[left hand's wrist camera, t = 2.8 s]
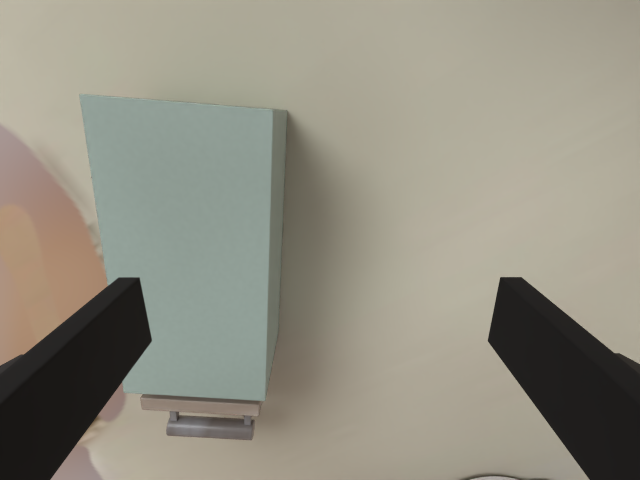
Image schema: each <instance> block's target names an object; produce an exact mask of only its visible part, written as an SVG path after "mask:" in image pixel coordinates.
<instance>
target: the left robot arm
mask: <svg viewBox="0 0 640 480" xmlns="http://www.w3.org/2000/svg"><path fill="white" fill-rule="evenodd" d="M151 342H152V338H151V332H150V327H149V322H148V317H147V312H146V307H145V302H144V297H143V292H142V287H141V282H140V277H118V278H117V279H116V280H115V281H114V282H112V283H111V284H110V285H109V286H107V287H106V288H105V289H104V290H103V291H101V292H100V293H99V294H98V295H96V296H95V297H94V298H93V299H92V300H90V301H89V302H88V303H87V304H85V305H84V306H83V307H82V308H80V309H79V310H78V311H77V312H76V313H74V314H73V315H72V316H71V317H69V318H68V319H67V320H66V321H65V322H63V323H62V324H61V325H60V326H58V327H57V328H56V329H55V330H54V331H52V332H51V333H50V334H49V335H47V336H46V337H45V338H44V339H43V340H41V341H40V342H39V343H38V344H36V345H35V346H34V347H33V348H32V349H30V350H29V351H28V352H27V353H25V354H24V355H19V356H17V357H16V358H14V359H12V360H10V361H8V362H6V363H5V364H3V365H1V366H0V480H50V479H51V478H52V476H53V475H54V474H55V472H56V471H57V470H58V468H59V467H60V466H61V464H62V463H63V462H64V460H65V459H66V457H67V456H68V455H69V453H70V452H71V451H72V449H73V448H74V447H75V445H76V444H77V443H78V441H79V440H80V438H81V437H82V436H83V434H84V433H85V432H86V430H87V429H88V428H89V426H90V425H91V423H92V422H93V421H94V419H95V418H96V417H97V415H98V414H99V413H100V411H101V410H102V409H103V407H104V406H105V404H106V403H107V402H108V400H109V399H110V398H111V396H112V395H113V394H114V392H115V391H116V389H117V388H118V387H119V385H120V384H121V383H122V381H123V380H124V379H125V377H126V376H127V375H128V373H129V372H130V370H131V369H132V368H133V366H134V365H135V364H136V362H137V361H138V360H139V358H140V357H141V355H142V354H143V353H144V351H145V350H146V349H147V347H148V346H149V345H150V343H151ZM488 342H489V343H490V345H491V346H492V347H493V349H494V350H495V351H496V353H497V354H498V355H499V357H500V358H501V360H502V361H503V362H504V364H505V365H506V366H507V368H508V369H509V370H510V372H511V373H512V375H513V376H514V377H515V379H516V380H517V381H518V383H519V384H520V385H521V387H522V388H523V389H524V391H525V392H526V394H527V395H528V396H529V398H530V399H531V400H532V402H533V403H534V404H535V406H536V407H537V409H538V410H539V411H540V413H541V414H542V415H543V417H544V418H545V419H546V421H547V422H548V423H549V425H550V426H551V428H552V429H553V430H554V432H555V433H556V434H557V436H558V437H559V438H560V440H561V441H562V443H563V444H564V445H565V447H566V448H567V449H568V451H569V452H570V453H571V455H572V456H573V457H574V459H575V460H576V462H577V463H578V464H579V466H580V467H581V468H582V470H583V471H584V472H585V474H586V475H587V477H588V478H589V479H590V480H640V364H638V363H636V362H635V361H633V360H631V359H629V358H627V357H625V356H623V355H622V354H620V353H613V352H612V351H611V350H610V349H608V348H607V347H606V346H605V345H604V344H602V343H601V342H600V341H599V340H597V339H596V338H595V337H594V336H593V335H591V334H590V333H589V332H588V331H586V330H585V329H584V328H583V327H582V326H580V325H579V324H578V323H577V322H575V321H574V320H573V319H572V318H571V317H569V316H568V315H567V314H566V313H564V312H563V311H562V310H561V309H560V308H558V307H557V306H556V305H555V304H553V303H552V302H551V301H550V300H548V299H547V298H546V297H545V296H544V295H542V294H541V293H540V292H539V291H537V290H536V289H535V288H534V287H533V286H531V285H530V284H529V283H528V282H526V281H525V280H524V279H523V278H522V277H500V282H499V287H498V292H497V297H496V302H495V307H494V312H493V317H492V322H491V327H490V332H489V338H488Z"/></svg>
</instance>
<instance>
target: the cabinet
mask: <svg viewBox="0 0 640 480" xmlns="http://www.w3.org/2000/svg"><path fill="white" fill-rule="evenodd" d="M79 96H80V102H81V109H82V116H83V122H84V129H85V136H86V142H87V149H88V156H89V163H90V169H91V176H92V183H93V189H94V196H95V203H96V209H97V216H98V223H99V229H100V236H101V243H102V250H103V256H104V263H105V270H106V276H107V283H108V286H109V285H110V284H111V283H112V282H114V281H115V280H116V279H117V278H118V277H140V282H141V287H142V292H143V297H144V302H145V307H146V312H147V317H148V322H149V327H150V332H151V338H152V342H151V343H150V345H149V346H148V347H147V349H146V350H145V351H144V353H143V354H142V355H141V357H140V358H139V360H138V361H137V362H136V364H135V365H134V366H133V368H132V369H131V370H130V372H129V373H128V375H127V376H126V377H125V379H124V380H123V381H122V383H123V390H124V393H136V394H154V395H171V396H188V397H205V398H222V399H239V400H256V401H265V400H266V395H267V390H268V384H269V379H270V374H271V368H272V363H273V358H274V353H275V347H276V342H277V337H278V330H279V306H280V281H281V257H282V233H283V208H284V184H285V159H286V135H287V110H276V109H264V108H252V107H239V106H227V105H214V104H202V103H189V102H177V101H165V100H152V99H139V98H126V97H114V96H101V95H88V94H80V95H79Z"/></svg>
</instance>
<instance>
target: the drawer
mask: <svg viewBox="0 0 640 480" xmlns="http://www.w3.org/2000/svg"><path fill="white" fill-rule="evenodd" d="M261 403H262V401H256V400H239V399H222V398H205V397H188V396H171V395H154V394H143V395H142V397H141V406H142V409H143V410H159V411H170V419H169V421H168V424H167V435H168V436H184V437H202V438H220V439H238V440H252V439H253V435H254V428H255V420H254V419H252V416H259V413H260V408H261ZM179 412H194V413H211V414H229V415H244V419H237V418H219V417H202V416H184V415H179Z"/></svg>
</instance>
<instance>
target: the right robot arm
mask: <svg viewBox="0 0 640 480" xmlns="http://www.w3.org/2000/svg"><path fill="white" fill-rule="evenodd" d="M470 480H518V479H514V478H510V477H502V476H487V477H479V478H474V479H470Z"/></svg>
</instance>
